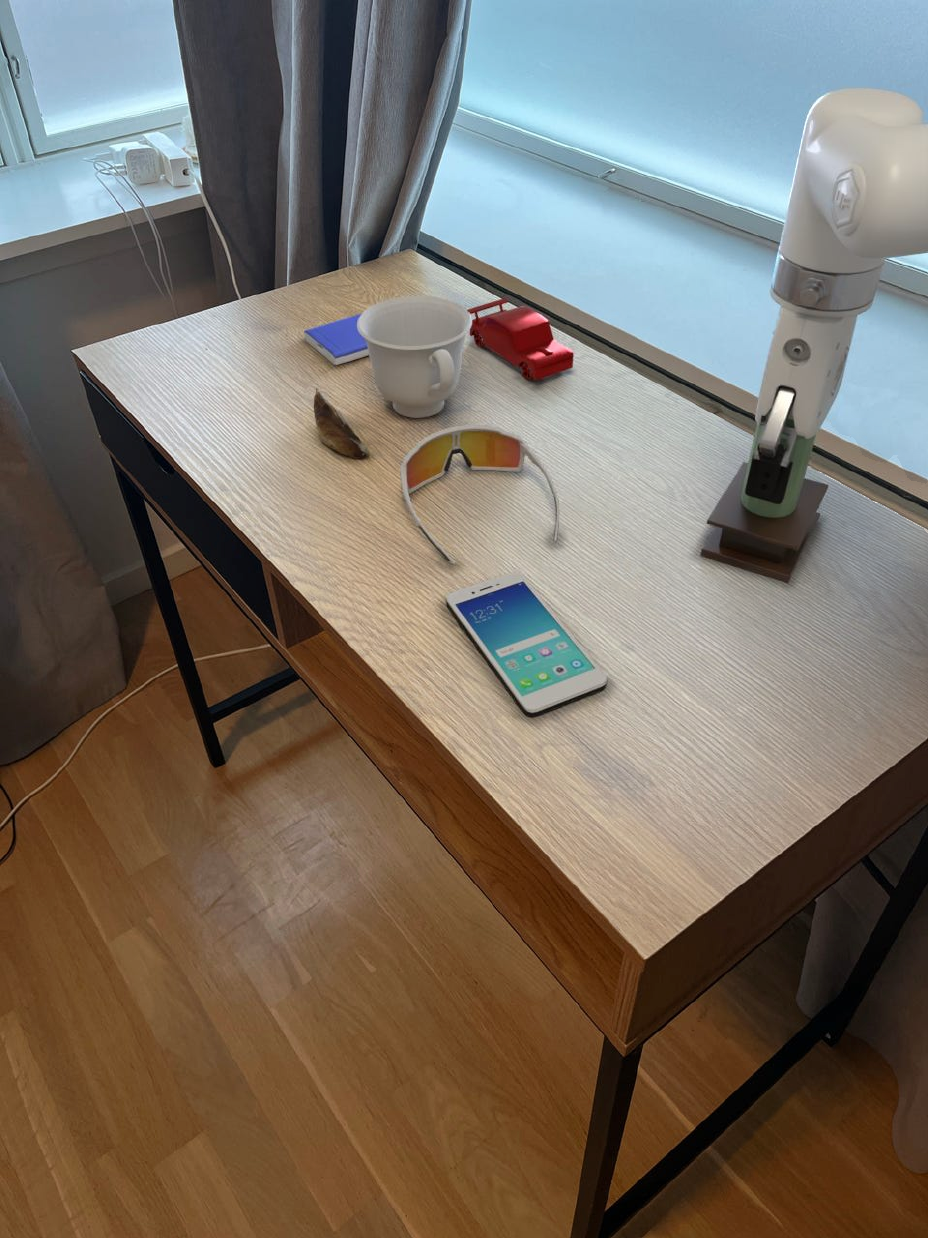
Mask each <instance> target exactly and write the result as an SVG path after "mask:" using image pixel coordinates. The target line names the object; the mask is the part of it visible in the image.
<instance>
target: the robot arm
mask: <svg viewBox="0 0 928 1238" xmlns="http://www.w3.org/2000/svg"><path fill="white" fill-rule="evenodd" d="M791 184H792V185H791V189H790V193H789V198H788V203H787V209H786V212H785V218H784V223H783V228H782V232H781V237H780V242H779V247H778V251H777V255H776V260H775V264H774V269H773V274H772V279H771V284H770V289H769V294H770V297H771V298H772V300H773V301H774V302H775V303H776V304H777V305H779V311H778V315H777V318H776V322H775V326H774V330H773V331H772V337H771V342H770V345H769V350H768V354H767V358H766V361H765V367H764V371H763V374H762V378H761V384H760V387H759V392H758V397H757V402H756V409H755V416H754V420H755V423H756V425H757V424H758V425H759V426H760V427H761V426H762V425H763V427H762V430H761V434H760V437H759V440H758V444H757V447H756V450H755V453H754V455H753V458H752V462H751V467H750V471H749V476H748V480H747V485H746V489H745V494H746V495H747V496H750V497H754V498H757V499H761V500H764V501H768V502H771V503H775V504H781V503H782V501H783V499H784V496H785V492H786V488H787V485H788V481H789V477H790V473H791V469H792V465H793V462H790V459H791V455H792V452H793V449H794V446H795V443H796V440H797V437H798V435H799V436H804V437H805V438H806V439H809V438H811V437H813V436H815V435H816V436H817V434H818V432H819V430H820V429H821V428H822V425H823V423H824V422H825V420H826V419H827V416H828V415H829V413H830V411H831V409H832V408H833V405H834V403H835V402H836V399H837V397H838V395H839V392H840V389H841V386H842V382H843V378H844V374H845V369H846V365H847V362H848V361H847V360H848V356H849V352H850V349H851V345H852V342H853V341H852V340H853V337H854V333H855V329H856V324H857V320H858V316H859V315H862V314H863V313H865V312H867V311H868V310H870V309H871V307H872V305H873V302H874V299H875V296H876V292H877V290H878V289H877V288H878V285H879V283H880V278H881V276H882V271H883V268H884V265H885V260H886V259H892V258H900V257H907V256H915V255H922V254H928V124H927V123H926V124H924V114H923V111H922V109H921V107H920V105H919V104H918V103H917V102H916V101H915V100H914V99H912V98H910V97H909V96H906V95H904V94H902V93H900V92H896V91H891V90H886V89H880V88H869V87H851V88H842V89H838V90H834V91H830V92H828V93H825V94H824V95H821V96H820V97H819V98H818V99H817V100H815V102H814V103H813V104H812V106H811V107H810V109H809V111H808V114H807V116H806V120H805V122H804V127H803V132H802V136H801V141H800V146H799V151H798V155H797V160H796V165H795V170H794V174H793V180H792V183H791ZM787 419H791V420H794V427H791V426H787V425H785V424H786V422H787ZM782 434H785V435H789V438H788V441H787V444H786V447H785V449H784V446H783V445H781V444H780V439H781V435H782Z"/></svg>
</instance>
